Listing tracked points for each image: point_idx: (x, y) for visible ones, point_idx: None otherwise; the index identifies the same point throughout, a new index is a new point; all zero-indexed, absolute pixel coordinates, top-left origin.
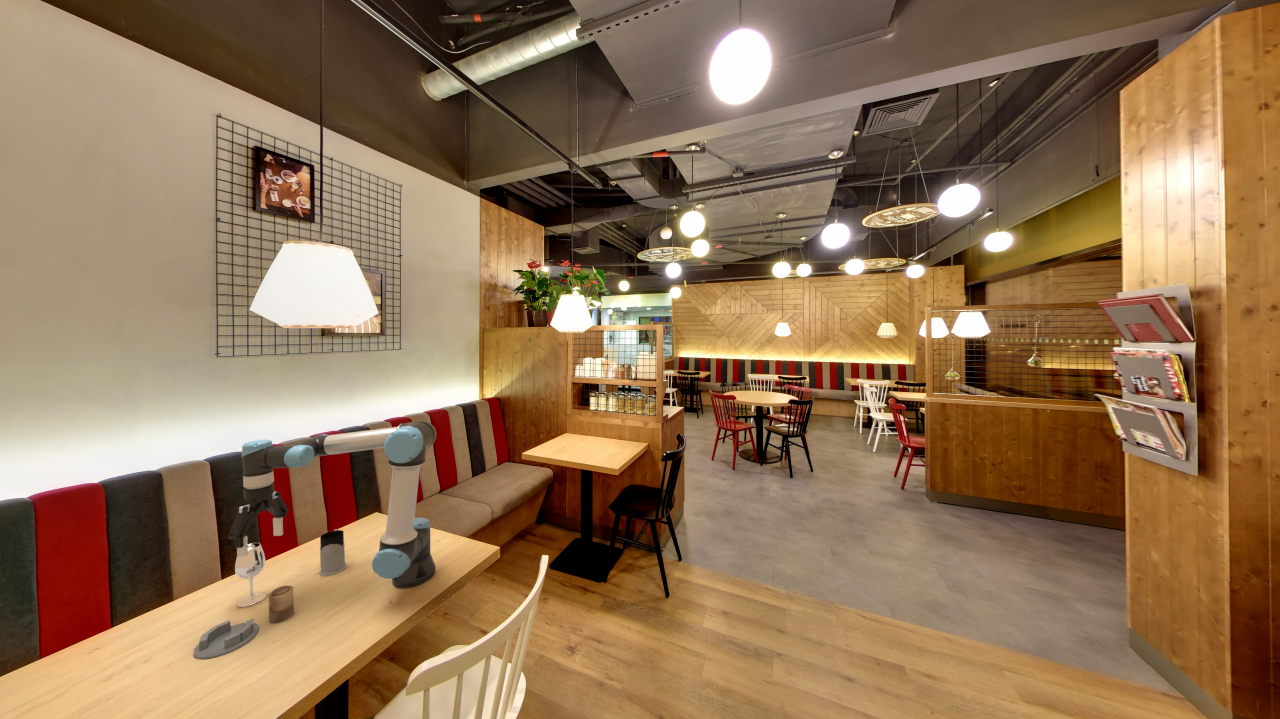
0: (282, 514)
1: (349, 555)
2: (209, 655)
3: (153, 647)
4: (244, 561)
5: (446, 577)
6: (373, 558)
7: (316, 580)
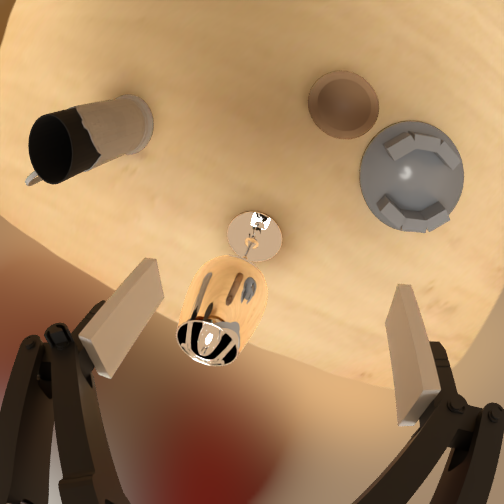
0: (64, 351)
1: None
2: (462, 178)
3: None
4: (254, 314)
5: None
6: None
7: (171, 130)
